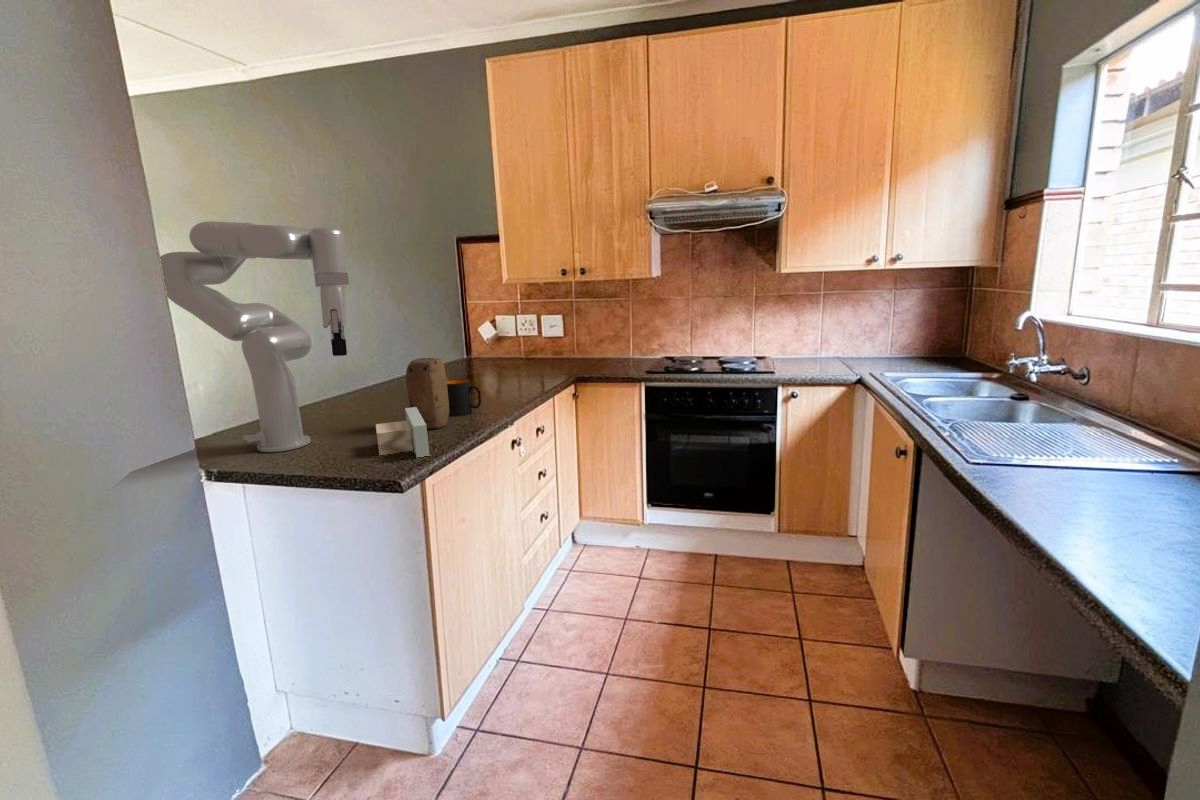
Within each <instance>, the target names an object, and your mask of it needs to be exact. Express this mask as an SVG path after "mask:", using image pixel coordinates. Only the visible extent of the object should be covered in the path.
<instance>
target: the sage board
mask: <svg viewBox="0 0 1200 800" xmlns="http://www.w3.org/2000/svg"><path fill="white" fill-rule="evenodd" d="M404 410H405V411H404V412H405V419H406V420H405V421H407V420H408V423H409V425H410V428H411V435H412V444H413V449H414V450H413V452H414V455H415V454H416V455H415V457H416V459H419V458H418V457H424V456H430V455H431V454H430V446H429V437H428V428H427V426H426V423H425V422H424V420H423V418H422V416H421V414H420V413H419V411H418V409H417V407H412V408H410V407H405V408H404ZM424 458H425V457H424Z"/></svg>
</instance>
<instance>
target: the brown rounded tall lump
mask: <svg viewBox="0 0 1200 800" xmlns="http://www.w3.org/2000/svg"><path fill="white" fill-rule="evenodd" d="M405 373H406V374H405V381H406V383H405V384H406V390H407V398H408V402H409V408H412V407H417V409H418V411H419V413H420V414H421V416H422V418H423V420H424V422H425V423H426V426H427V430H428V429H431V430H432V429H440V428H443V426H444V427H445V426H446V425H447V423H448V421H449V417H450V416H449V400H448V390H447V381H446V377H447V374H446V370H445V363H444V360H443V359H441V358H434V357H426V358H425V357H420V358H415V359H413V360H412V361H410V362H409V363H408V365H407V367H406V372H405Z"/></svg>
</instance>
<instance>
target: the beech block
mask: <svg viewBox="0 0 1200 800" xmlns="http://www.w3.org/2000/svg"><path fill="white" fill-rule="evenodd" d="M375 430H376V438H377V439H376V440H377V445H378V448H377V449H378V453H379V457H381V456H380V455H385V456H387V455H386V454H392V455H394V454H393V453H399V452H405V453H407V452H406V451H412V452H414V450H413V444H412V435H411V428H410V425H409V423H408V420H407V421H406V420H399V421H392V422H383V423H378V424H377V423H376V424H375ZM399 454H400V453H399Z"/></svg>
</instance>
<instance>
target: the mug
mask: <svg viewBox="0 0 1200 800" xmlns="http://www.w3.org/2000/svg"><path fill="white" fill-rule="evenodd" d="M473 389H475V390H476V393H477V399H478V403H477V405H473V403H472V395H471V392H472V390H473ZM447 390H448V400H449V416H448V417H463V415H464V416H468V415H471V414H472V413H473V409H479V408H480V407H481V404H482V395H481V394H482V393H481V390H480V388H479V387H478V386H476V385H472V386H471V383H470V380H469V379H466V378H459V379H457V378H456V379H448V381H447Z"/></svg>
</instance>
